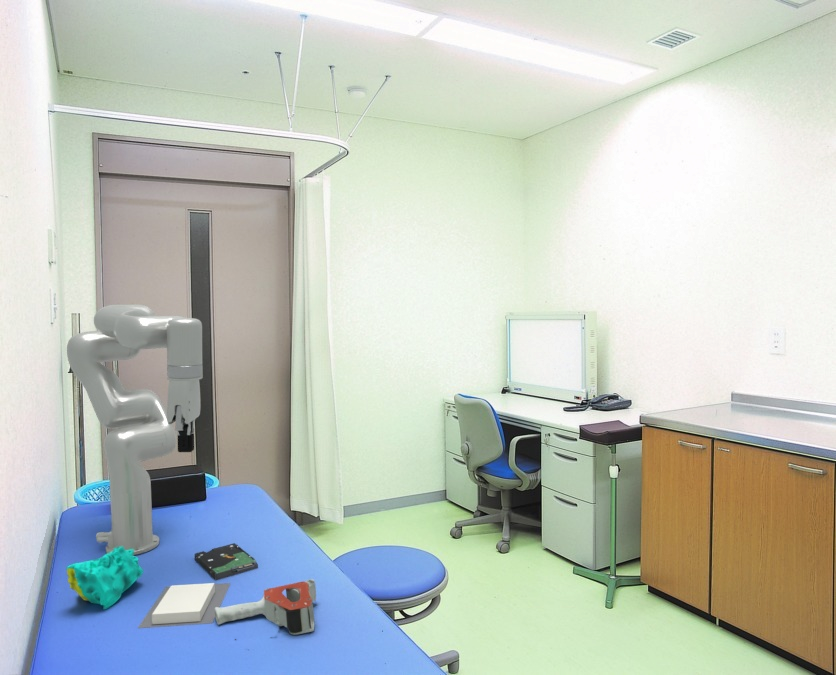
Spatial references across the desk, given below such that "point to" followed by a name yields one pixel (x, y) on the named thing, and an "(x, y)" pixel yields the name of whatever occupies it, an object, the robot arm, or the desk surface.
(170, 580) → the desk surface
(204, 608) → the tile
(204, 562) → the disk drive
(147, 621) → the mat
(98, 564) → the teal sponge
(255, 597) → the desk surface
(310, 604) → the tape dispenser
